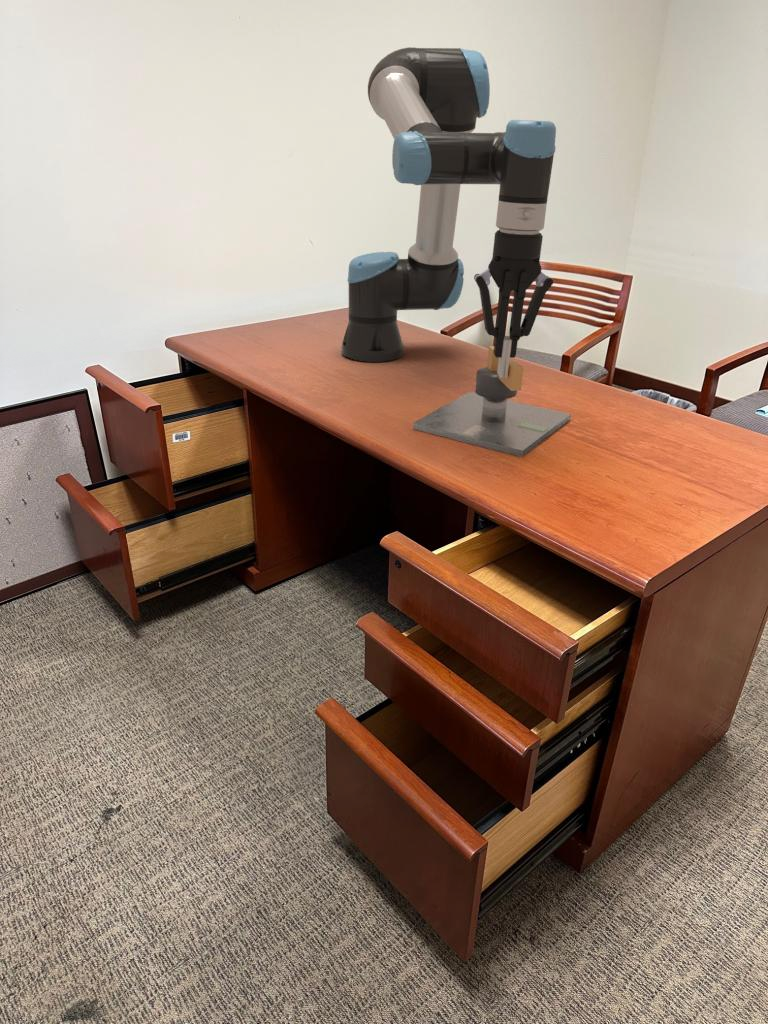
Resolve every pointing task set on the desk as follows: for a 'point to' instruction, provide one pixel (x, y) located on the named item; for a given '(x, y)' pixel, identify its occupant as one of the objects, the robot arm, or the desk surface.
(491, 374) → the cap
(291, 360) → the desk surface
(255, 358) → the desk surface
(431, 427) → the post plate
